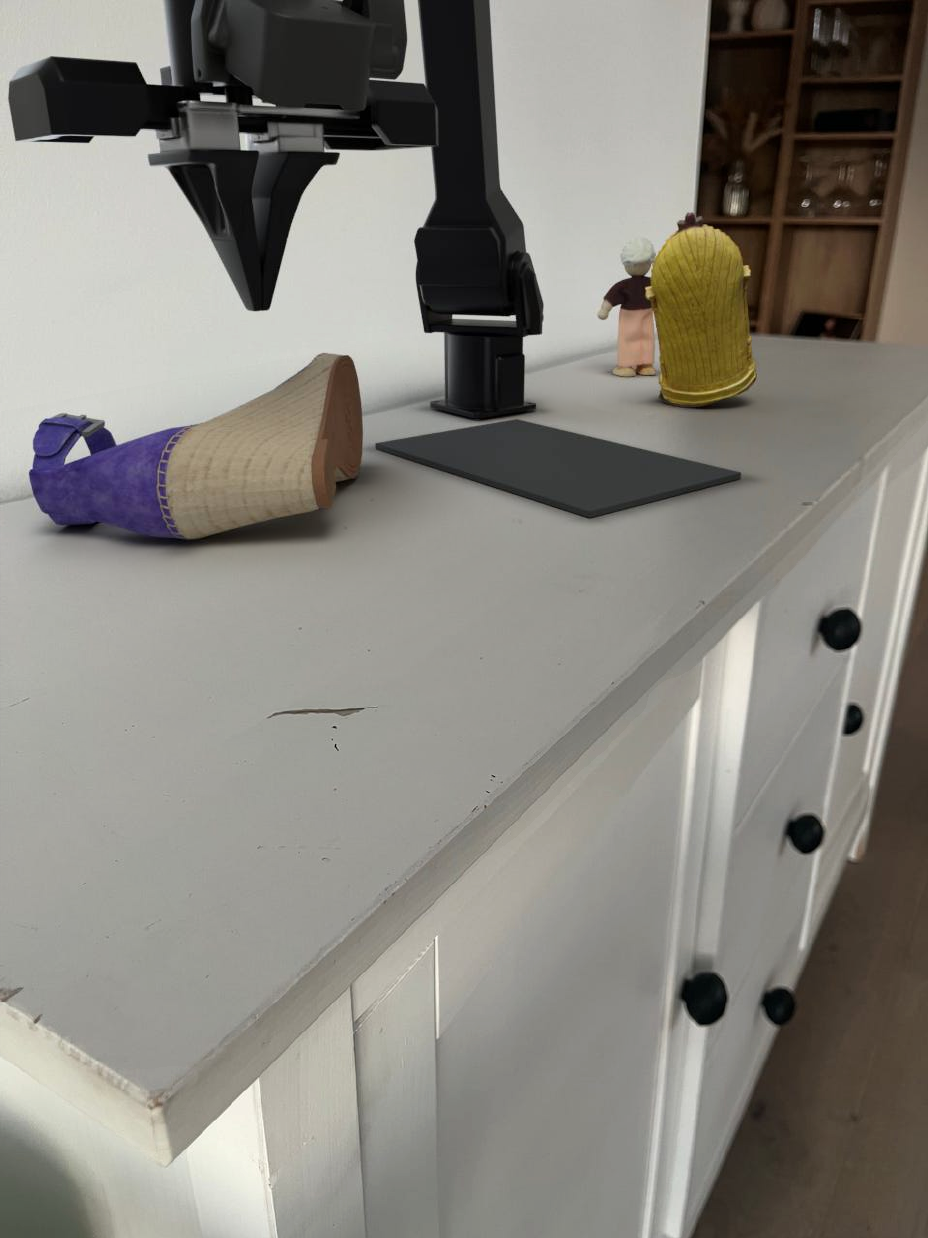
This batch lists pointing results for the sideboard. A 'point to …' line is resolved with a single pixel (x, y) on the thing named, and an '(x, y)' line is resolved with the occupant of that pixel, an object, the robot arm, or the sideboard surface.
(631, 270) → the grandmother figurine
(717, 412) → the sideboard surface
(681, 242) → the shrine
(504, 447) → the mat
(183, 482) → the sandal
